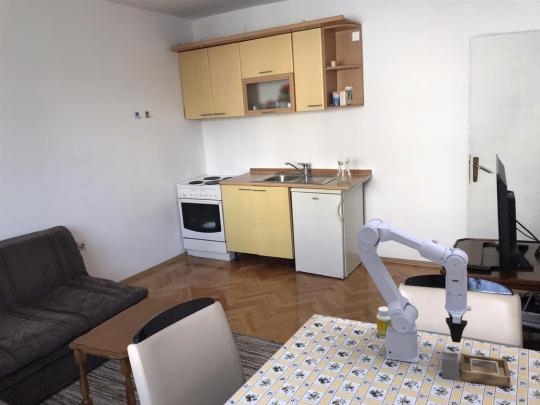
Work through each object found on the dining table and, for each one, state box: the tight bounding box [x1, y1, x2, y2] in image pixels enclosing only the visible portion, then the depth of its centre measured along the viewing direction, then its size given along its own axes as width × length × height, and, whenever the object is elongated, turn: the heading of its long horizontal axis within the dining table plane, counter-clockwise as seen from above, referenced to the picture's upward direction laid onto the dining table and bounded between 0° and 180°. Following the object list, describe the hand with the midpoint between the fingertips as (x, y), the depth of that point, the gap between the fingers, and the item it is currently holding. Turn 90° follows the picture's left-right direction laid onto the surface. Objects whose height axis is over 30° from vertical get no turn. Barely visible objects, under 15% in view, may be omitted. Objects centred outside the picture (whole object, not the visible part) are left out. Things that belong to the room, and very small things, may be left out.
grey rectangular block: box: [441, 351, 459, 382], centre depth 127 cm, size 4×4×6 cm
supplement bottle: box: [376, 306, 392, 339], centre depth 153 cm, size 5×5×10 cm
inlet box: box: [460, 353, 511, 389], centre depth 126 cm, size 12×10×3 cm
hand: (455, 335), depth 131 cm, fingers open, 7 cm apart
